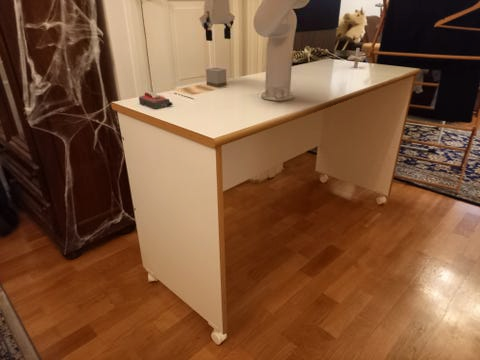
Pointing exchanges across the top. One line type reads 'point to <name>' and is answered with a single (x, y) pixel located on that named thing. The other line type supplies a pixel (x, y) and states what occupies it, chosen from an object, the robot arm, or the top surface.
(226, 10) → the robot arm
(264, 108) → the top surface
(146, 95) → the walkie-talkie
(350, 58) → the pipe connector
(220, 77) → the block
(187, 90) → the board
